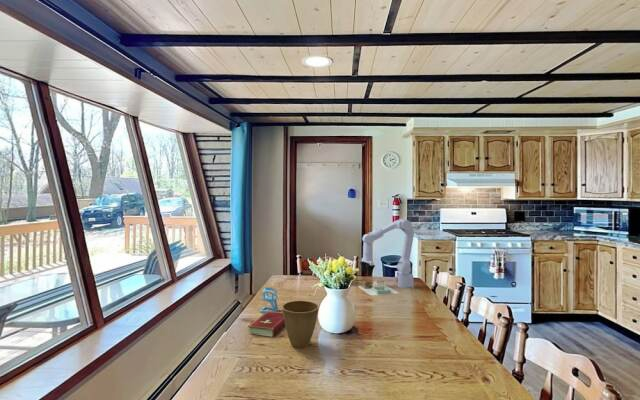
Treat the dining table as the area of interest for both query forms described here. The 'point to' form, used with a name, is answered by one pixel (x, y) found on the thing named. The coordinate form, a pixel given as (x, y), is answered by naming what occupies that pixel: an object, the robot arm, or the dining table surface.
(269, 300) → the chair
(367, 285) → the walnut block
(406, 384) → the dining table surface
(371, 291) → the packing board
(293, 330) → the plant pot
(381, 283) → the cream box
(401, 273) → the robot arm
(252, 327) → the hardcover book
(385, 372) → the dining table surface
